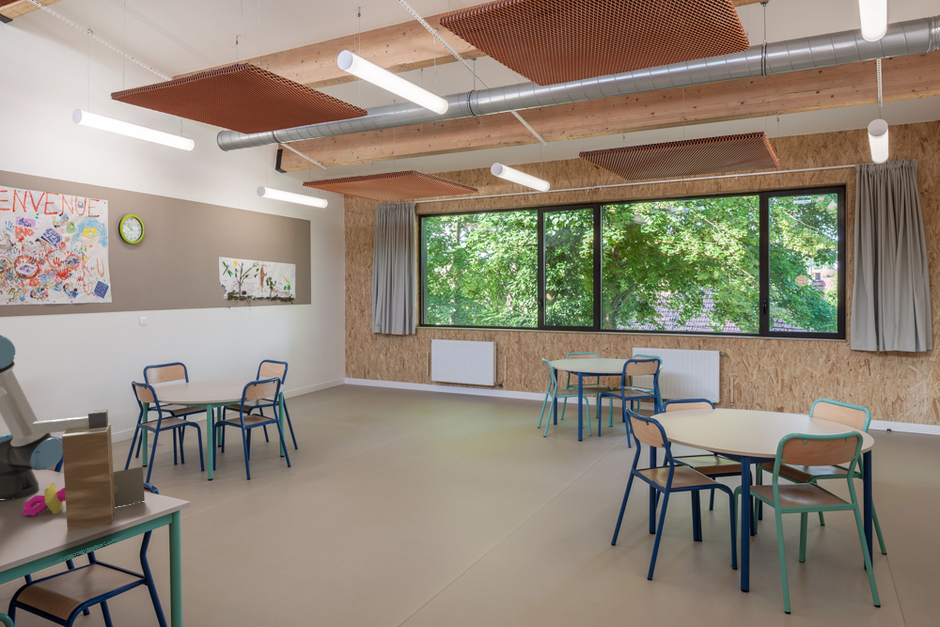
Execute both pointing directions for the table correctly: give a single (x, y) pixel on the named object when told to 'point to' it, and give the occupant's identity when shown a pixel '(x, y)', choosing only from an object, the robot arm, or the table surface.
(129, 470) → the laptop
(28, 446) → the robot arm
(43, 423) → the metal block
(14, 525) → the table surface
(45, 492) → the toy
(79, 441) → the stand
